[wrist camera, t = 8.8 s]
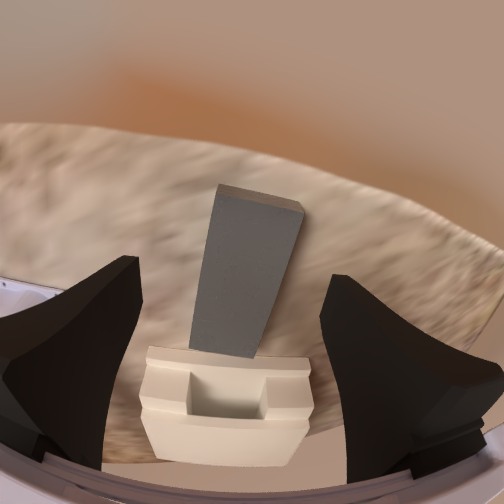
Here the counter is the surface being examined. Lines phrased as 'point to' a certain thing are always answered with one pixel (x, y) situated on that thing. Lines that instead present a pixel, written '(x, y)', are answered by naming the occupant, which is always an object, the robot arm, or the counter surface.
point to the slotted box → (225, 407)
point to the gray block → (242, 269)
